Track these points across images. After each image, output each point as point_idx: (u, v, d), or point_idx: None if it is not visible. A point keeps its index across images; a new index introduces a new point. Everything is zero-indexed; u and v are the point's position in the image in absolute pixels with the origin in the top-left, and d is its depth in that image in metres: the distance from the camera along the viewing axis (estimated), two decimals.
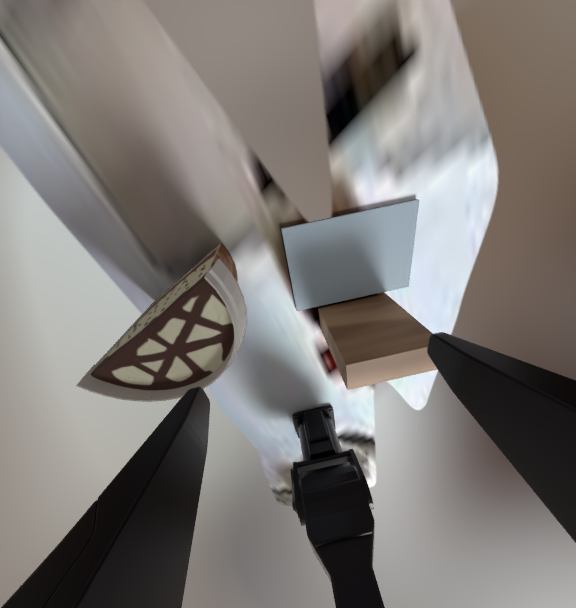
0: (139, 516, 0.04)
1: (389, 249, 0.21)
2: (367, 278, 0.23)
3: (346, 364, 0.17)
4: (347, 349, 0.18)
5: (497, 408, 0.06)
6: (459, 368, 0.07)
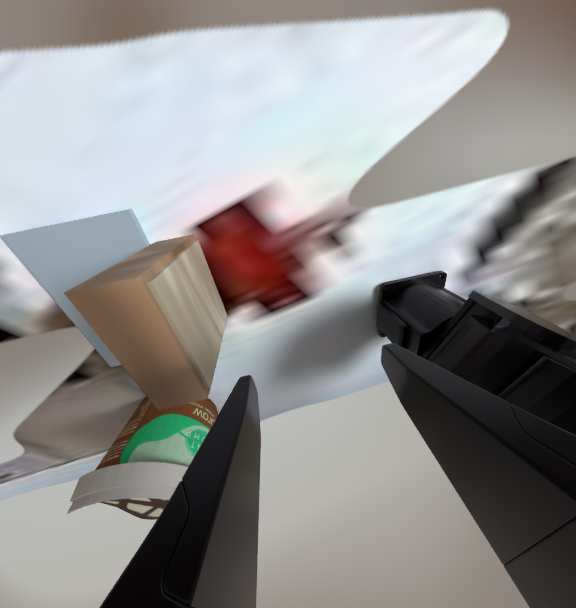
0: (227, 496, 0.04)
1: (83, 258, 0.16)
2: None
3: (158, 407, 0.13)
4: None
5: (433, 423, 0.06)
6: (404, 381, 0.07)
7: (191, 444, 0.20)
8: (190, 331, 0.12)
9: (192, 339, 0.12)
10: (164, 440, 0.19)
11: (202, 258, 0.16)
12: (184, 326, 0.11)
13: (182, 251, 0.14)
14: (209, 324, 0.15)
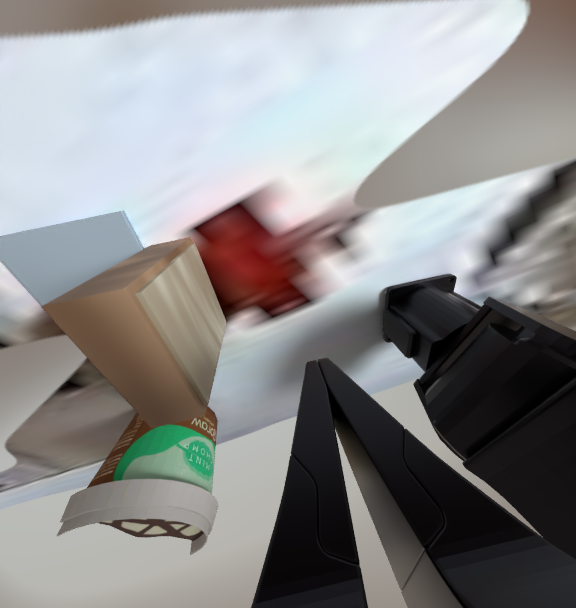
0: (341, 469, 0.05)
1: (73, 263, 0.15)
2: None
3: None
4: None
5: (348, 443, 0.06)
6: (329, 398, 0.07)
7: (190, 457, 0.19)
8: (185, 344, 0.11)
9: (188, 352, 0.11)
10: (161, 454, 0.18)
11: (199, 262, 0.15)
12: (178, 339, 0.10)
13: (177, 256, 0.13)
14: (207, 333, 0.14)
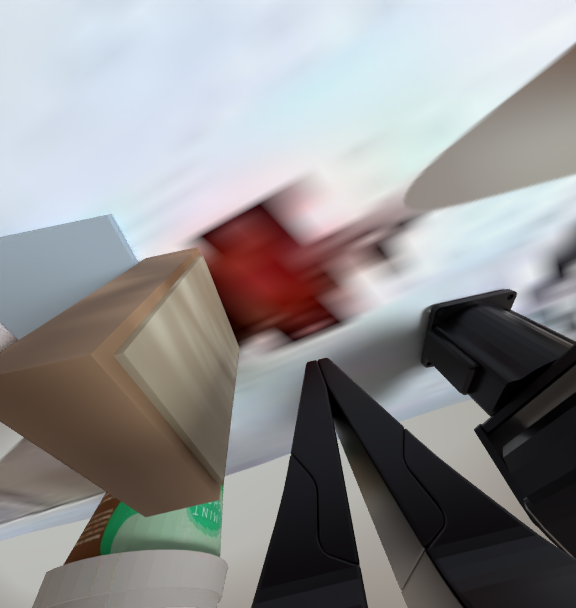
0: (341, 469, 0.05)
1: (47, 282, 0.12)
2: None
3: None
4: None
5: (348, 443, 0.06)
6: (329, 398, 0.07)
7: (194, 510, 0.16)
8: (193, 406, 0.08)
9: (197, 418, 0.08)
10: None
11: (208, 279, 0.12)
12: (184, 404, 0.07)
13: (182, 276, 0.09)
14: (220, 374, 0.11)
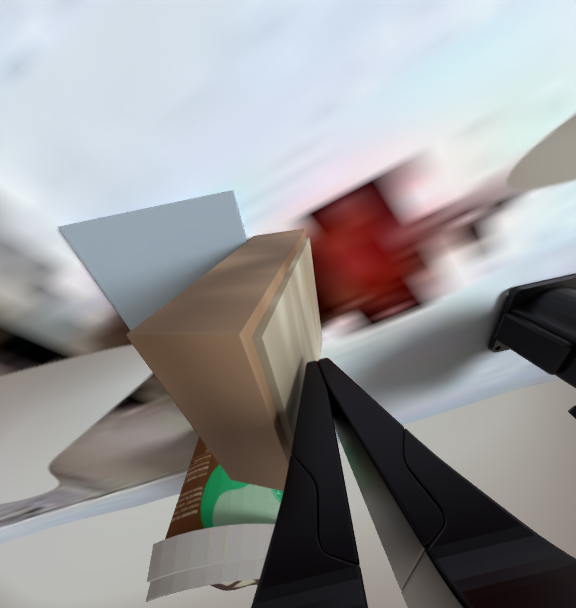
0: (341, 469, 0.05)
1: (162, 258, 0.12)
2: None
3: None
4: None
5: (347, 443, 0.06)
6: (329, 398, 0.07)
7: None
8: (295, 398, 0.07)
9: (296, 411, 0.07)
10: (248, 487, 0.15)
11: (310, 264, 0.12)
12: (290, 395, 0.07)
13: (295, 258, 0.09)
14: None
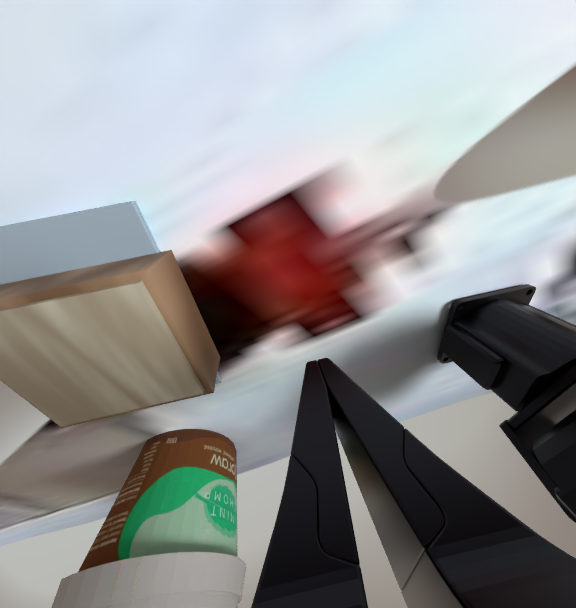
0: (341, 469, 0.05)
1: None
2: None
3: None
4: None
5: (348, 443, 0.06)
6: (329, 398, 0.07)
7: (212, 510, 0.15)
8: (26, 379, 0.10)
9: (29, 386, 0.10)
10: (177, 511, 0.14)
11: (140, 312, 0.09)
12: (9, 373, 0.10)
13: (65, 296, 0.09)
14: (103, 386, 0.11)
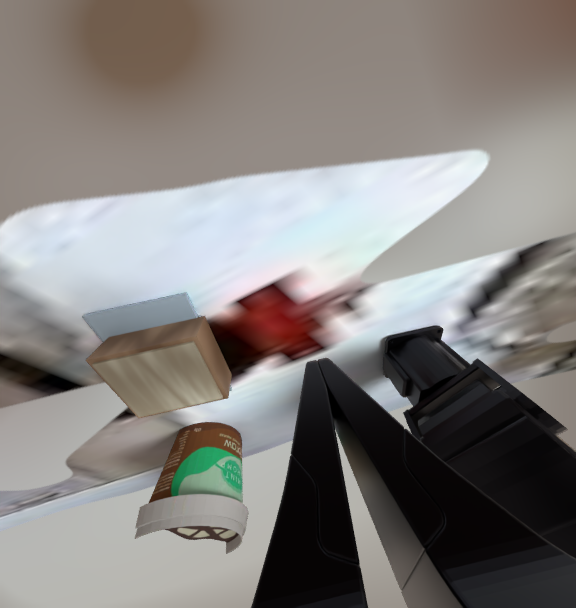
0: (341, 469, 0.05)
1: None
2: None
3: None
4: None
5: (347, 443, 0.06)
6: (329, 398, 0.07)
7: (226, 474, 0.24)
8: (128, 390, 0.19)
9: (128, 394, 0.19)
10: (204, 473, 0.23)
11: (191, 356, 0.18)
12: (120, 387, 0.18)
13: (155, 349, 0.17)
14: (166, 394, 0.19)
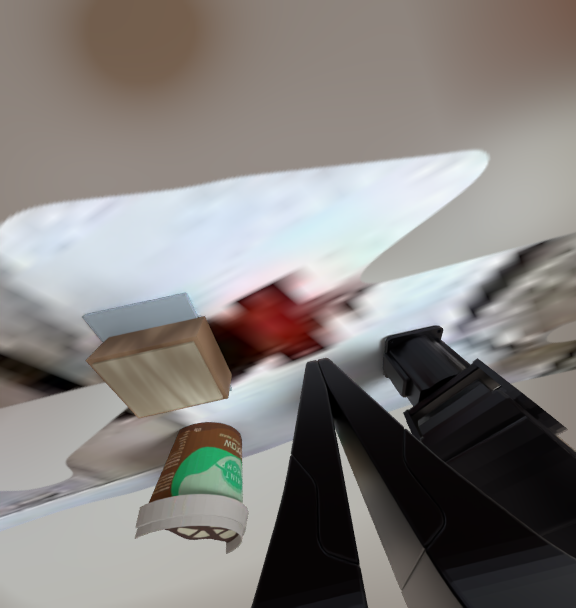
0: (341, 469, 0.05)
1: None
2: None
3: None
4: None
5: (347, 443, 0.06)
6: (328, 398, 0.07)
7: (226, 474, 0.24)
8: (128, 391, 0.19)
9: (128, 394, 0.19)
10: (204, 473, 0.23)
11: (191, 356, 0.18)
12: (120, 387, 0.18)
13: (155, 349, 0.17)
14: (166, 394, 0.19)
